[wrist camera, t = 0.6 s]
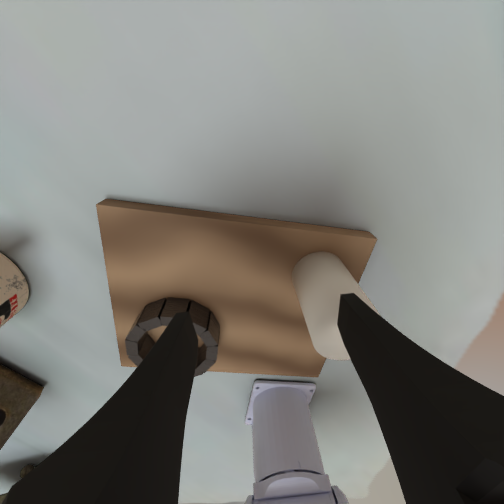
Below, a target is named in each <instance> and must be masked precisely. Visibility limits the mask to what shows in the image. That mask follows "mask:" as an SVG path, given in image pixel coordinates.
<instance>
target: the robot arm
mask: <svg viewBox="0 0 504 504" xmlns="http://www.w3.org/2000/svg"><path fill="white" fill-rule="evenodd" d="M337 326H338V329H339V332H340V335H341V338H342V340H343V343H344V346H345V348H346V350H347V352H348V354H349V357H350V359H351V361H352V363H353V365H354V367H355V369H356V371H357V373H358V375H359V377H360V379H361V381H362V384H363V386H364V388H365V390H366V392H367V394H368V396H369V399H370V401H371V403H372V406H373V409H374V411H375V414H376V417H377V419H378V422H379V425H380V427H381V430H382V433H383V436H384V439H385V441H386V444H387V447H388V450H389V453H390V456H391V459H392V462H393V465H394V467H395V470H396V473H397V476H398V479H399V482H400V485H401V489H402V492H403V495H404V498H405V501H406V504H504V396H502V395H500V394H499V393H497V392H495V391H493V390H491V389H489V388H487V387H485V386H483V385H482V384H480V383H478V382H476V381H474V380H472V379H471V378H469V377H467V376H466V375H464V374H462V373H460V372H459V371H457V370H455V369H454V368H452V367H451V366H449V365H447V364H446V363H444V362H442V361H441V360H439V359H438V358H436V357H435V356H433V355H432V354H430V353H429V352H427V351H426V350H424V349H423V348H421V347H420V346H418V345H417V344H416V343H414V342H413V341H411V340H410V339H409V338H407V337H406V336H405V335H403V334H402V333H401V332H399V331H398V330H397V329H396V328H394V327H393V326H392V325H391V324H389V323H388V322H387V321H386V320H385V319H383V318H382V317H381V316H380V315H379V314H377V313H376V312H375V311H374V310H373V309H372V308H370V307H369V306H368V305H367V304H366V303H365V302H364V301H362V300H361V299H360V298H359V297H358V296H357V295H355V294H354V293H348V294H340V303H339V312H338V321H337ZM197 354H198V337H197V334H196V331H195V328H194V325H193V322H192V319H191V316H190V313H189V312H181V313H176V314H175V315H174V317H173V318H172V320H171V321H170V323H169V324H168V326H167V327H166V329H165V330H164V332H163V333H162V334H161V336H160V337H159V339H158V340H157V342H156V343H155V344H154V346H153V347H152V349H151V350H150V351H149V353H148V354H147V355H146V357H145V358H144V359H143V361H142V362H141V363H140V364H139V366H138V367H137V368H136V369H135V371H134V372H133V373H132V374H131V376H130V377H129V378H128V379H127V380H126V382H125V383H124V384H123V385H122V386H121V387H120V388H119V389H118V391H117V392H116V393H115V394H114V395H113V396H112V397H111V398H110V399H109V400H108V401H107V402H106V403H105V404H104V406H103V407H102V408H101V409H100V410H99V411H98V412H97V413H96V414H95V415H94V416H93V417H92V418H91V419H90V420H89V421H88V422H87V423H86V424H84V425H83V426H82V427H81V428H80V429H79V430H78V431H77V432H76V433H75V434H74V435H73V436H71V437H70V438H69V439H68V440H67V441H66V442H65V443H64V444H63V445H61V446H60V447H59V448H58V449H57V450H56V451H55V452H53V453H52V454H51V455H50V456H49V457H47V458H46V459H45V460H44V461H43V462H41V463H40V464H39V465H38V466H37V467H35V468H34V469H33V470H32V471H30V472H29V473H28V474H27V475H26V476H24V477H23V478H22V479H21V480H20V481H18V482H17V483H16V484H14V485H13V486H12V487H11V489H10V490H9V492H8V494H7V495H6V497H5V499H4V500H3V502H2V504H178V496H179V482H180V470H181V459H182V448H183V439H184V430H185V421H186V415H187V409H188V404H189V399H190V394H191V389H192V384H193V379H194V374H195V369H196V363H197ZM315 389H316V385H315V384H314V383H298V382H280V381H261V380H257V381H255V382H254V385H253V389H252V393H251V397H250V401H249V406H248V410H247V414H246V418H245V424H246V425H252V437H253V463H254V477H255V481H256V483H254V484H253V488H254V495H249V496H248V497H247V500H246V501H245V503H244V504H349V503H348V500H347V498H346V496H345V494H344V493H343V492H342V491H341V490H340V489H339V488H338V486H331V485H330V480H329V476H328V475H327V474H325V472H324V468H323V464H322V459H321V455H320V451H319V447H318V443H317V439H316V434H315V430H314V426H313V422H312V418H311V414H310V409H309V403H310V401H311V399H312V396H313V394H314V392H315Z"/></svg>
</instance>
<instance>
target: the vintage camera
mask: <svg viewBox="0 0 504 504" xmlns="http://www.w3.org/2000/svg"><path fill="white" fill-rule="evenodd" d="M43 388H44V387H42V386H40V385H38V384H36V383H35V382H33V381H31V380H29V379H27V378H25V377H23V376H22V375H20V374H18V373H16V372H14V371H12V370H10V369H9V368H7V367H5V366H3V365H1V364H0V450H1V448H2V447H3V446H4V444H5V443H6V441H7V440H8V439H9V437H10V436H11V435H12V433H13V432H14V431H15V429H16V428H17V426H18V425H19V424H20V422H21V421H22V420H23V418H24V417H25V416H26V414H27V413H28V411H29V410H30V409H31V407H32V406H33V405H34V403H35V402H36V401H37V399H38V398H39V397H40V395H41V393H42V390H43Z"/></svg>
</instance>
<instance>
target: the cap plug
mask: <svg viewBox="0 0 504 504" xmlns="http://www.w3.org/2000/svg"><path fill="white" fill-rule="evenodd" d="M292 281H293V284H294V288H295V291H296V294H297V297H298V300H299V303H300V306H301V309H302V312H303V315H304V318H305V321H306V324H307V327H308V330H309V334H310V337H311V340H312V343H313V346H314V348H315V350H316V351H317V352H318V353H319V354H320V355H322V356H323V357H326V358H328V359H332V360H349V359H350V357H349V354H348V352H347V350H346V348H345V346H344V343H343V340H342V338H341V335H340V332H339V329H338V326H337V321H338V312H339V303H340V294H348V293H354V294H355V295H357V296H358V297H359V298H360V299H361V300H362V301H364V302H365V303H366V304H367V305H368V306H369V307H370V308H372V309H373V310H374V311H375V312H376V313H377V314H379V313H378V311H377V310H376V308H375V307H374V306H373V304H372V303H371V301H370V300H369V299H368V297H367V296H366V295H365V293H364V292H363V290H362V289H361V288H360V286H359V285H358V283H357V282H356V281H355V279H354V278H353V277H352V275H351V274H350V272H349V271H348V270H347V268H346V267H345V265H344V264H343V263H342V261H341V260H340V259H339V258H338V257H337V256H336V255H334V254H332V253H329V252H314V253H311V254H309V255H307V256H305V257H303V258H302V259H301V260H300V261H299V262H298V263H297V264H296V265H295V267H294V269H293V272H292ZM379 315H380V314H379ZM380 316H381V315H380Z"/></svg>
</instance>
